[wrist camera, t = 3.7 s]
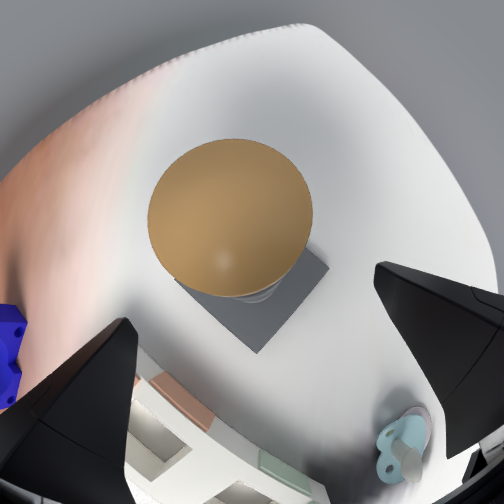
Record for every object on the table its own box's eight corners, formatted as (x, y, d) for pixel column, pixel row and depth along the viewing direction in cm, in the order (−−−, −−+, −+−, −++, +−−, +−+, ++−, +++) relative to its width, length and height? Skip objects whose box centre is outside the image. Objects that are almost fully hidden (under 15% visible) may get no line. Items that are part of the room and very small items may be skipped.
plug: (292, 271, 19) (344, 201, 6) (254, 315, 19) (233, 333, 6) (248, 234, 20) (224, 116, 7) (210, 277, 19) (119, 220, 7)
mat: (327, 269, 20) (329, 268, 19) (256, 352, 19) (256, 354, 18) (246, 202, 21) (246, 199, 20) (176, 280, 20) (174, 279, 19)
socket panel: (326, 483, 16) (335, 507, 12) (254, 530, 15) (253, 554, 11) (140, 341, 19) (116, 347, 15) (87, 406, 18) (63, 417, 14)
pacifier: (427, 392, 17) (369, 418, 17) (471, 409, 11) (404, 448, 11) (425, 453, 16) (371, 478, 16) (460, 478, 10) (398, 513, 10)
